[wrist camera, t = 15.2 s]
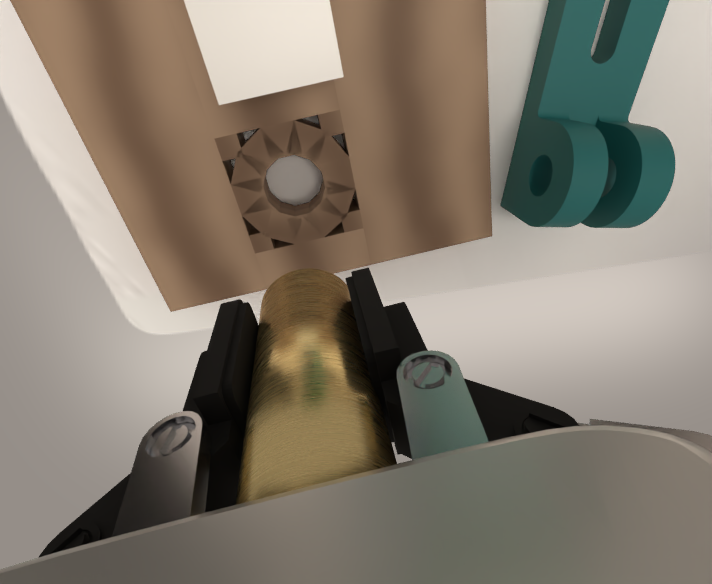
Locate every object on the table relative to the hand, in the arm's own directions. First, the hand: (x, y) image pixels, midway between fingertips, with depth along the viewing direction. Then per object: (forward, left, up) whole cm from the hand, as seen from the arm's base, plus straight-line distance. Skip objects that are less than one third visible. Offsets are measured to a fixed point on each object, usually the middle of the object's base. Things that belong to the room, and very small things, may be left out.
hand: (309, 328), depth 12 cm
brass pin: (0, 0, -1) cm, 1 cm away
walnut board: (0, -3, -20) cm, 20 cm away
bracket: (-20, -2, -20) cm, 29 cm away
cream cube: (0, -9, -17) cm, 19 cm away
